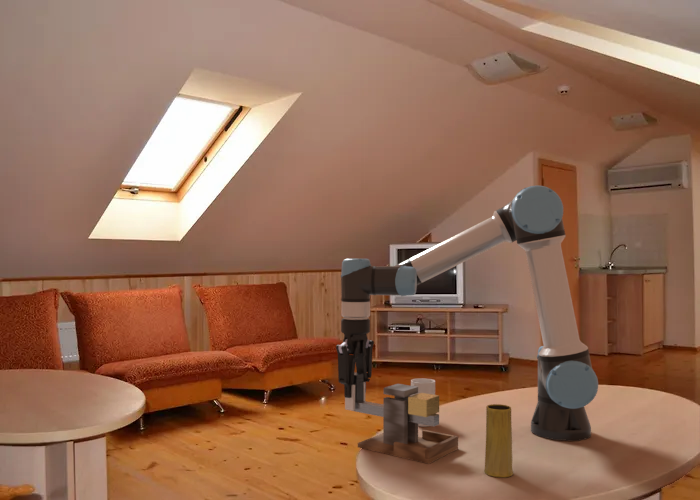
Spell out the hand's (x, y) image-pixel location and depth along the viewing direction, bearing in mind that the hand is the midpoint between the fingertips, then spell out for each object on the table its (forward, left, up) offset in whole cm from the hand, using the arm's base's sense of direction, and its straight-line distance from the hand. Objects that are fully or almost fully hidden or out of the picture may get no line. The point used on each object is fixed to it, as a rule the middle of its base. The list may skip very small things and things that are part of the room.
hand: (355, 408), depth 165 cm
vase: (-41, +3, -8) cm, 42 cm away
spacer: (-20, 0, +2) cm, 21 cm away
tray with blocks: (-16, 0, -7) cm, 18 cm away
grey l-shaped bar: (-11, 0, -1) cm, 11 cm away
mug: (-7, -23, -8) cm, 25 cm away
